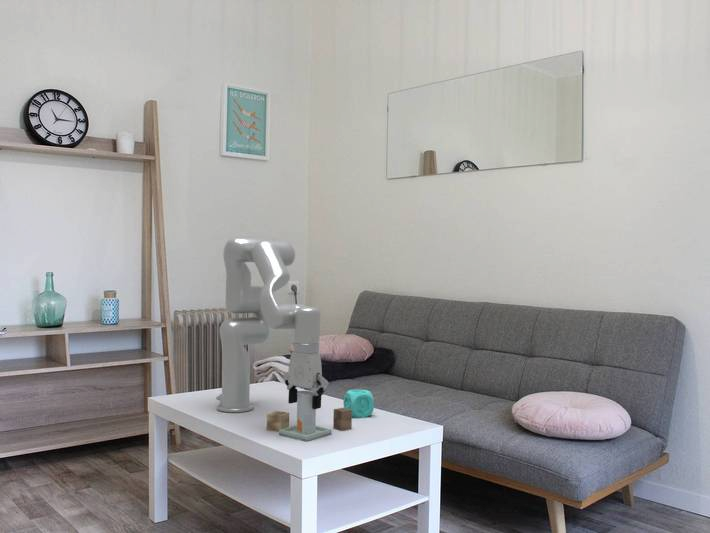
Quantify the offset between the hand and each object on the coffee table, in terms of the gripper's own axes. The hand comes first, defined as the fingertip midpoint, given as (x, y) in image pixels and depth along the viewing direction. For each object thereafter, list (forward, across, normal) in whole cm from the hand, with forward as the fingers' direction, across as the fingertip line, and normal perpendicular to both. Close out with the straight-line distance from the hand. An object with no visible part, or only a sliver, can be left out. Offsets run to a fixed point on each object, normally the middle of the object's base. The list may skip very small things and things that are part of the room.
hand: (304, 405), depth 200 cm
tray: (+8, +1, 0) cm, 9 cm away
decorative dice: (+9, -4, +31) cm, 32 cm away
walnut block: (+8, +4, +13) cm, 16 cm away
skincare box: (+8, +1, 0) cm, 8 cm away
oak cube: (+9, -10, -1) cm, 13 cm away
